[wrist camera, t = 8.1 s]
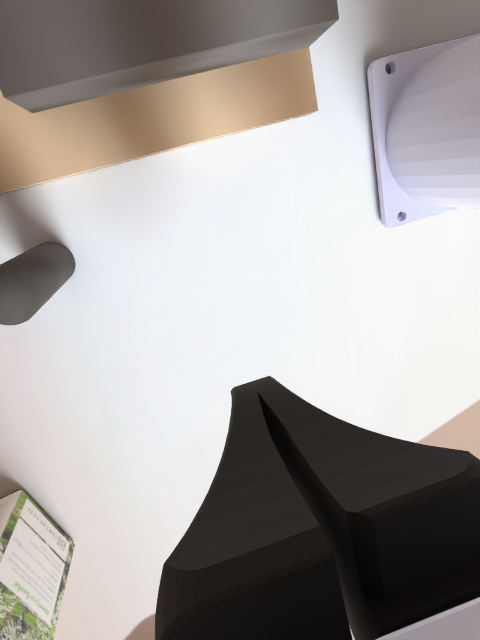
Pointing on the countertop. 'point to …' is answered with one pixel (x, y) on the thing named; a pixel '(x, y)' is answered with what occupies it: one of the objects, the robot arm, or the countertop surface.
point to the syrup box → (30, 569)
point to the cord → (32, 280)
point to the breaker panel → (150, 121)
